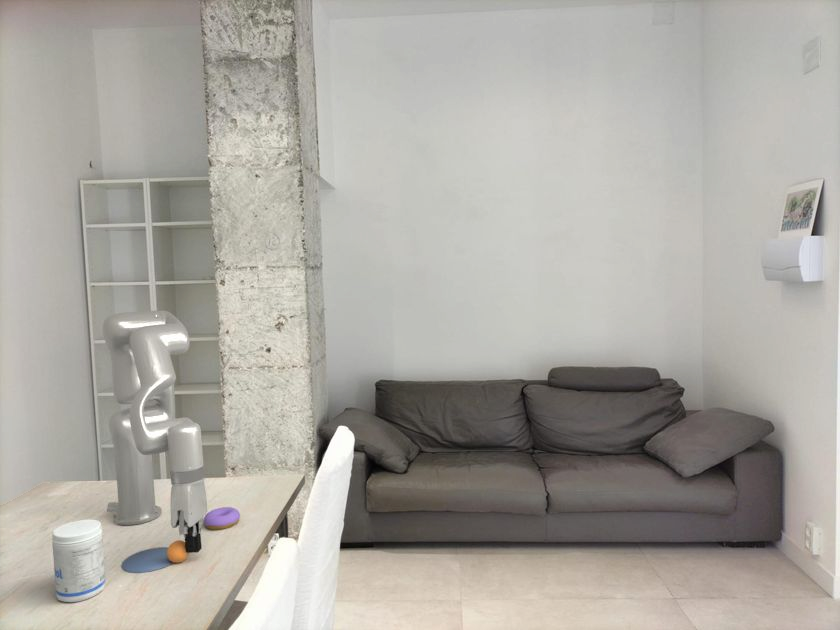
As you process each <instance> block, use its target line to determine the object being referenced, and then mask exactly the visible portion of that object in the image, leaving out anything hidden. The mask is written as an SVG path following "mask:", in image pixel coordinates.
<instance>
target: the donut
mask: <svg viewBox="0 0 840 630" xmlns="http://www.w3.org/2000/svg"><path fill="white" fill-rule="evenodd" d="M240 518H241V513H240V511H239V510H238V509H237V508H234V507H231V506H230V507H229V506H226V507H224V506H223V507H219V508H215V509H212V510H211V511H209V512H207V513H206V515H205V516H204V517H203V519H202V522H203V523H204V524H203V525H204V526H205V527H206V528H207V529H209V530H211V531H220V530H227V529H229V528H233V526H235V525H236V524H237V523H238V522H239V520H240ZM226 528H227V529H226Z"/></svg>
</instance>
